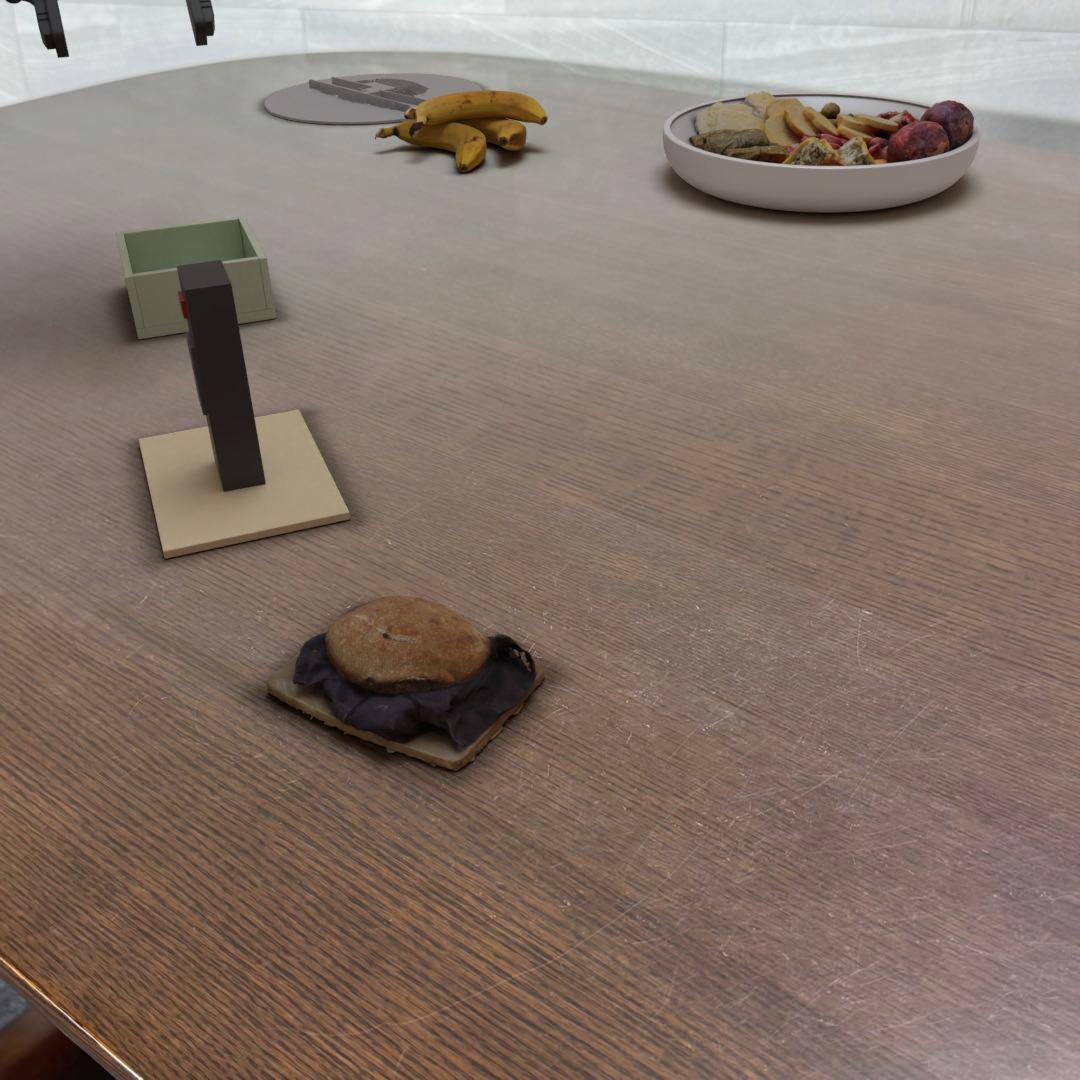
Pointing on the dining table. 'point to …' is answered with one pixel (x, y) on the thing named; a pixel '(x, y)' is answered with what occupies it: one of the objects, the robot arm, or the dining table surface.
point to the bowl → (821, 150)
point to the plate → (362, 97)
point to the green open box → (167, 247)
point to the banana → (469, 123)
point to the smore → (410, 679)
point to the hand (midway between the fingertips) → (133, 43)
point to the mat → (244, 514)
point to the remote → (221, 372)
